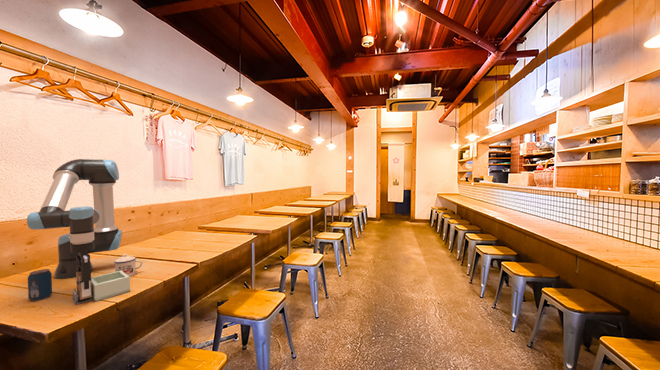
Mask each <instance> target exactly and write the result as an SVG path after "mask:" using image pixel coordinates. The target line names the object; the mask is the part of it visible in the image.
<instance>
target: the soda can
mask: <svg viewBox="0 0 660 370" xmlns="http://www.w3.org/2000/svg"><path fill="white" fill-rule="evenodd" d="M52 276H53V275H52V272H51V270H50V269H48V268H46V269H45V268H44V269H39V270H34V271H32V272H30V273H29V275H28V276H27V293H28V294H27V297H28V299H29V301H31V302H36V301H37V302H38V301H42V300H45V299H47V298H49V297H51V295H52V294H53V278H52Z"/></svg>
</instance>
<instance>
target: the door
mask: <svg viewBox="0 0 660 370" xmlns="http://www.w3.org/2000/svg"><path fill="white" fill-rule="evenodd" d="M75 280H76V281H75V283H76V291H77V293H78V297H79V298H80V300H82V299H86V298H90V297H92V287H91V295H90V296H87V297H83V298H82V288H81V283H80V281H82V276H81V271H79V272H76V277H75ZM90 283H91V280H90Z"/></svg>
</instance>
